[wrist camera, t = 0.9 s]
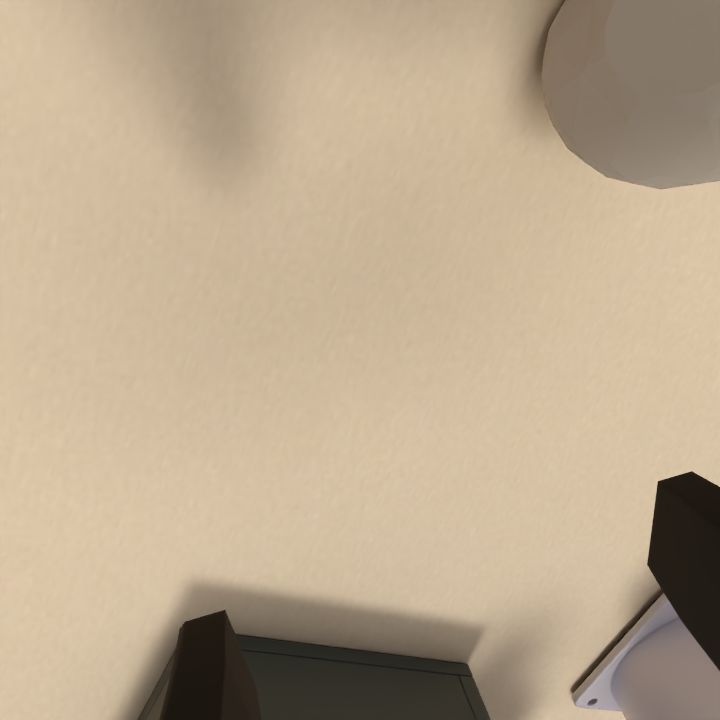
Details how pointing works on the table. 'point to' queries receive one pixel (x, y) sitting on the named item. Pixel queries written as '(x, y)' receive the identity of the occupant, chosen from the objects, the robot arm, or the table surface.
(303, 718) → the bin
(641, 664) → the robot arm
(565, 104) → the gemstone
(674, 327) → the table surface
